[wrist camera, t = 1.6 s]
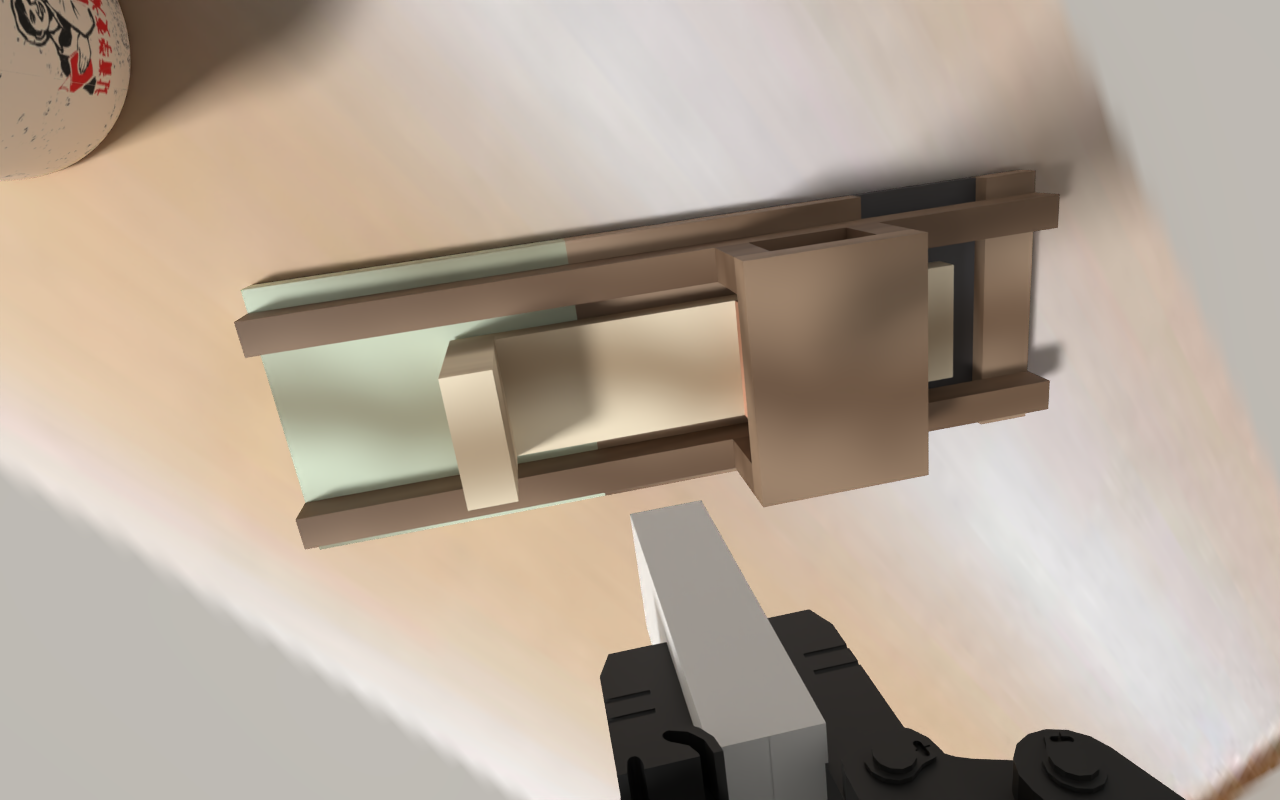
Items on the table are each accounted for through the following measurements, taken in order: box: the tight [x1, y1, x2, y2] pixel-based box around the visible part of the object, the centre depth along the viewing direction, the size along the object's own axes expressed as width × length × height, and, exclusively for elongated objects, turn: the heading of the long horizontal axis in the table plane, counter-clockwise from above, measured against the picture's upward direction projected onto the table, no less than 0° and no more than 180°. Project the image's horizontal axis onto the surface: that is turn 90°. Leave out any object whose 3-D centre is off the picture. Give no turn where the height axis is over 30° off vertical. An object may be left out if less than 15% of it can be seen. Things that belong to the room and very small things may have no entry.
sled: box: [438, 261, 954, 511], centre depth 27 cm, size 4×19×5 cm, turn 97°
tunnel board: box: [234, 170, 1060, 549], centre depth 27 cm, size 10×29×6 cm, turn 97°
